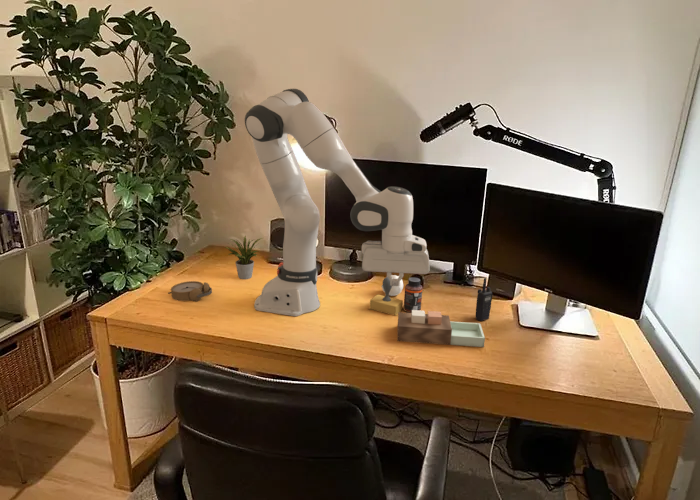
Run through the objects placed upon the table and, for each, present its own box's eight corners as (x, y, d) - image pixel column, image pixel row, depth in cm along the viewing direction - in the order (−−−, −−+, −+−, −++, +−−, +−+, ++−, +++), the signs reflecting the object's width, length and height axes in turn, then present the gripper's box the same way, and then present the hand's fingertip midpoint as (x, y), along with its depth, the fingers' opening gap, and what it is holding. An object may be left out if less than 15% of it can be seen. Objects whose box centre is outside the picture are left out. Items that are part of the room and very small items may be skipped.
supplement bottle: (420, 314, 183) (422, 283, 179) (402, 312, 184) (404, 281, 180) (421, 307, 188) (423, 277, 185) (404, 305, 189) (406, 275, 186)
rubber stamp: (402, 309, 186) (404, 277, 182) (395, 316, 181) (397, 283, 177) (376, 303, 190) (378, 271, 186) (369, 309, 185) (370, 277, 182)
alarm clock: (182, 280, 198) (217, 279, 193) (185, 292, 199) (220, 292, 194) (163, 291, 188) (199, 290, 182) (166, 304, 189) (202, 304, 184)
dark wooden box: (397, 341, 164) (398, 326, 162) (397, 326, 173) (398, 312, 172) (450, 344, 163) (451, 329, 161) (447, 329, 172) (448, 315, 171)
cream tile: (411, 322, 165) (412, 315, 164) (411, 317, 169) (411, 309, 168) (424, 323, 165) (425, 316, 164) (424, 317, 168) (424, 310, 168)
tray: (450, 344, 163) (451, 335, 162) (447, 329, 172) (448, 321, 171) (483, 347, 162) (484, 338, 161) (479, 331, 172) (480, 323, 171)
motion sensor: (386, 289, 203) (387, 270, 200) (405, 293, 200) (407, 273, 197) (378, 296, 196) (379, 276, 193) (397, 301, 193) (399, 280, 190)
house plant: (253, 267, 221) (251, 228, 215) (272, 276, 211) (271, 237, 206) (222, 274, 211) (220, 235, 206) (240, 285, 202) (239, 243, 197)
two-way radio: (479, 322, 178) (484, 280, 173) (470, 317, 182) (474, 275, 177) (491, 318, 181) (496, 277, 176) (481, 313, 185) (486, 273, 180)
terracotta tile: (427, 323, 165) (428, 316, 164) (427, 318, 168) (427, 310, 168) (441, 324, 164) (441, 317, 164) (440, 319, 168) (440, 311, 167)
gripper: (360, 243, 157) (359, 287, 161) (431, 246, 155) (428, 290, 160) (362, 237, 163) (361, 279, 167) (430, 240, 161) (427, 282, 166)
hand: (394, 285), depth 164 cm, fingers closed
